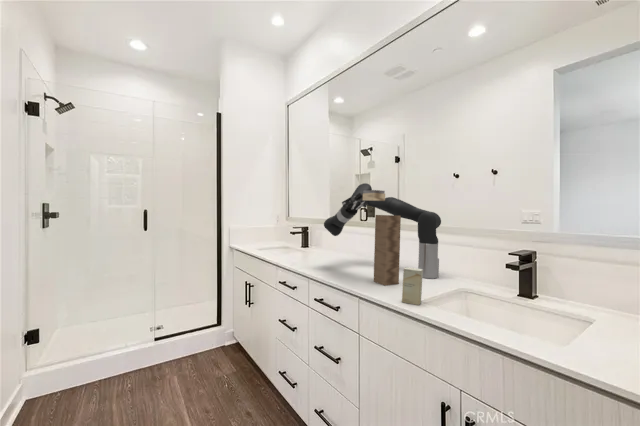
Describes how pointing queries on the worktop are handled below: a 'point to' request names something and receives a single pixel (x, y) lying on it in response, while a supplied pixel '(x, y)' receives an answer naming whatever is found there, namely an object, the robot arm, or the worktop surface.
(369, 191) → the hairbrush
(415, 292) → the skincare box
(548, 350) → the worktop surface
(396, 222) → the walnut stand
